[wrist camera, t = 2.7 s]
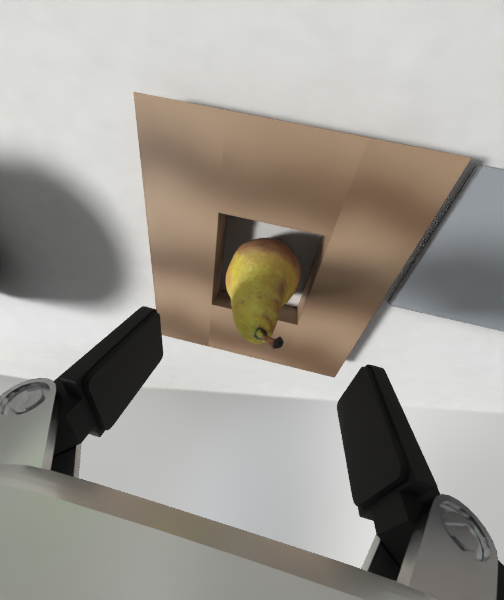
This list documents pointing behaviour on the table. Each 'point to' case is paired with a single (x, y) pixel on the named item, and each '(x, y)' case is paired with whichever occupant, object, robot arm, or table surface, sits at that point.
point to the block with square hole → (281, 221)
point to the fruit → (261, 287)
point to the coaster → (463, 258)
